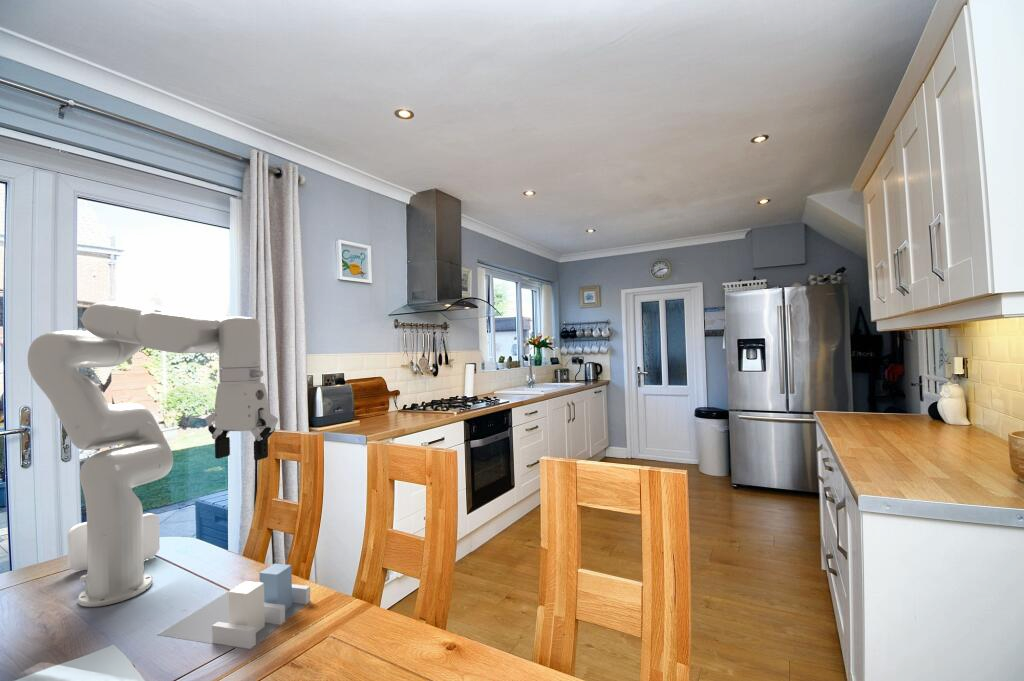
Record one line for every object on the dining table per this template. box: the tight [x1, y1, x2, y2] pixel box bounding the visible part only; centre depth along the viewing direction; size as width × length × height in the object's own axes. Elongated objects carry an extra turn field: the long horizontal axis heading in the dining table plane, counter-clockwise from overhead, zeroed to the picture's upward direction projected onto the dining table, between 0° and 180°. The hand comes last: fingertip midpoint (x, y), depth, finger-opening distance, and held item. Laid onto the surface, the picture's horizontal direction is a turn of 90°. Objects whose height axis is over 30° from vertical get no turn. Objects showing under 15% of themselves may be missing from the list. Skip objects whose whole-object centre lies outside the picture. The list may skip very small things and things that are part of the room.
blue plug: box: [259, 563, 293, 611], centre depth 94 cm, size 4×4×8 cm
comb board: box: [157, 583, 312, 651], centre depth 91 cm, size 20×16×4 cm
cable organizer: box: [67, 512, 160, 571], centre depth 119 cm, size 15×11×12 cm
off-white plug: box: [228, 580, 265, 633], centre depth 87 cm, size 4×4×8 cm
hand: (241, 457), depth 99 cm, fingers open, 9 cm apart
